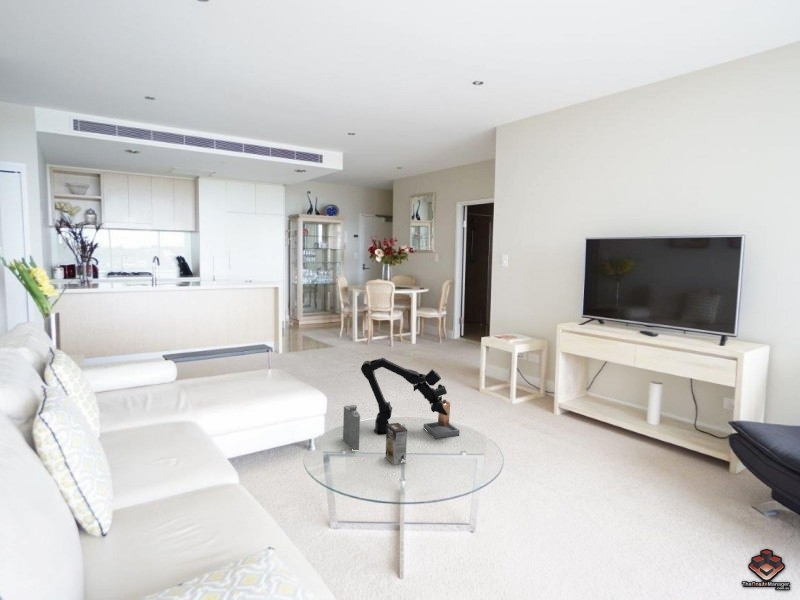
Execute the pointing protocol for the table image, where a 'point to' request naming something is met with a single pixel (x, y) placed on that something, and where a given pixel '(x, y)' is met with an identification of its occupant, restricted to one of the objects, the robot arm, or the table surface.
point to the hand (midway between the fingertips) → (446, 412)
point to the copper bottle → (444, 419)
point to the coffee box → (396, 443)
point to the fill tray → (441, 430)
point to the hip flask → (351, 426)
